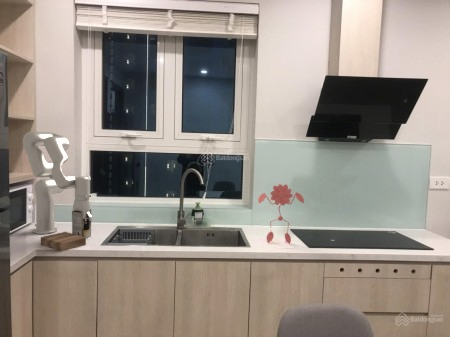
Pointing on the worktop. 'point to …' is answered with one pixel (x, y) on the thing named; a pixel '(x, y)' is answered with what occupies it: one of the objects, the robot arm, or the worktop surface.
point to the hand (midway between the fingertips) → (81, 228)
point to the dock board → (63, 241)
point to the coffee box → (80, 224)
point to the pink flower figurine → (282, 197)
